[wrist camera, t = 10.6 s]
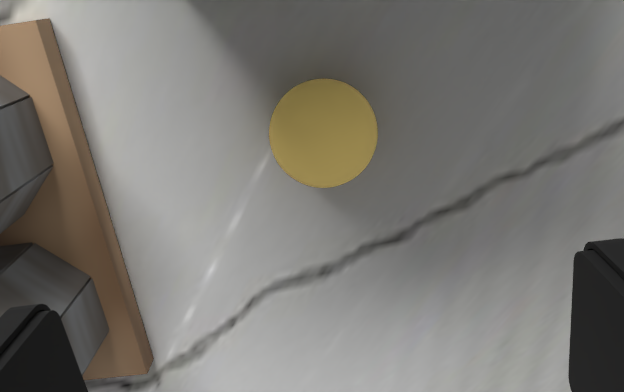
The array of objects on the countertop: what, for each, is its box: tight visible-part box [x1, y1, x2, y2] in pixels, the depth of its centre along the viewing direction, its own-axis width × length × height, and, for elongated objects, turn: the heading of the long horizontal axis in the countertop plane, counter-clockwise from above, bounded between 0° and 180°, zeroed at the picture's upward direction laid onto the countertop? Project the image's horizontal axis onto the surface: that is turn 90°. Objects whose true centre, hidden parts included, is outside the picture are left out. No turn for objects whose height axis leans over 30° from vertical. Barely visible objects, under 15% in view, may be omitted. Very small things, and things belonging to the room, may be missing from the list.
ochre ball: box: [269, 78, 378, 188], centre depth 23 cm, size 4×4×4 cm
